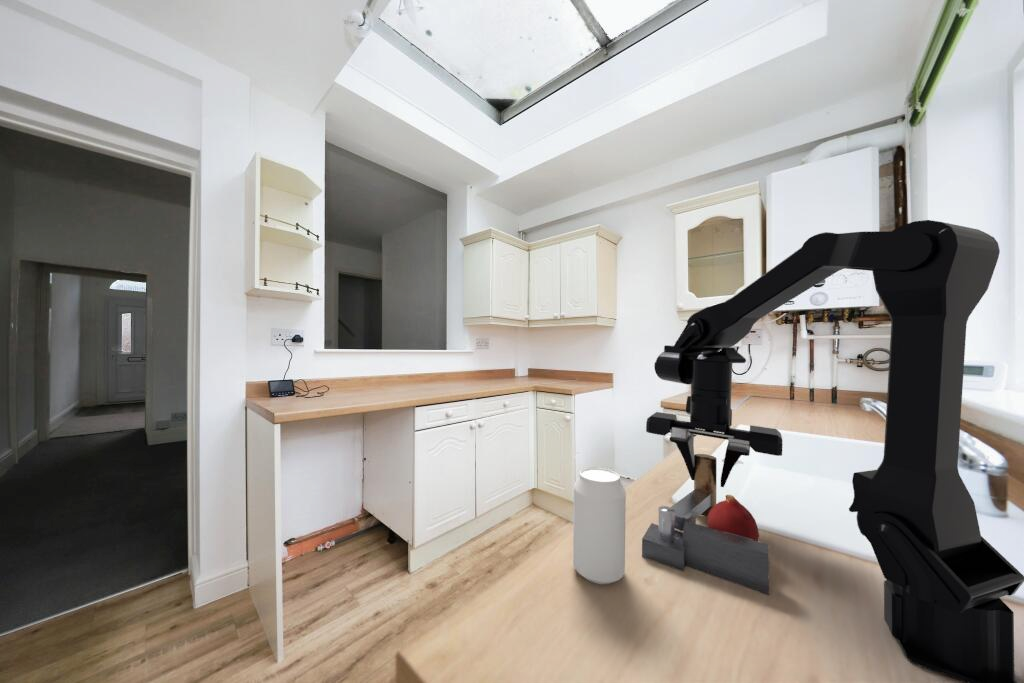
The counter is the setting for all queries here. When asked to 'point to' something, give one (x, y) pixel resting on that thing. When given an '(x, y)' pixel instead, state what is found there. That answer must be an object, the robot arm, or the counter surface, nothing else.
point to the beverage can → (599, 525)
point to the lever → (698, 492)
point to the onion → (733, 519)
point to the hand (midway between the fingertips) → (707, 482)
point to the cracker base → (707, 551)
